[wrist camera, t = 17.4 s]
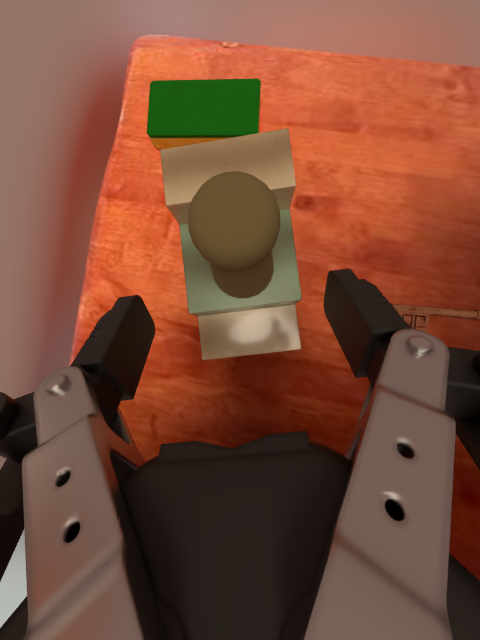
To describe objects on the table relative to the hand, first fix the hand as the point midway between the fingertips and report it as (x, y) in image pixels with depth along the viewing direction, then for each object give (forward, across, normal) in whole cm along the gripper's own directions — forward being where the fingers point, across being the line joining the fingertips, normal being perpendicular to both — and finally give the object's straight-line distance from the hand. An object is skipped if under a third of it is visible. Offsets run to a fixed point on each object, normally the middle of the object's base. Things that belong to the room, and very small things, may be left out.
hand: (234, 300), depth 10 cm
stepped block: (+17, 0, +10) cm, 20 cm away
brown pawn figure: (+12, 0, +5) cm, 13 cm away
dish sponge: (+32, +2, -5) cm, 33 cm away
